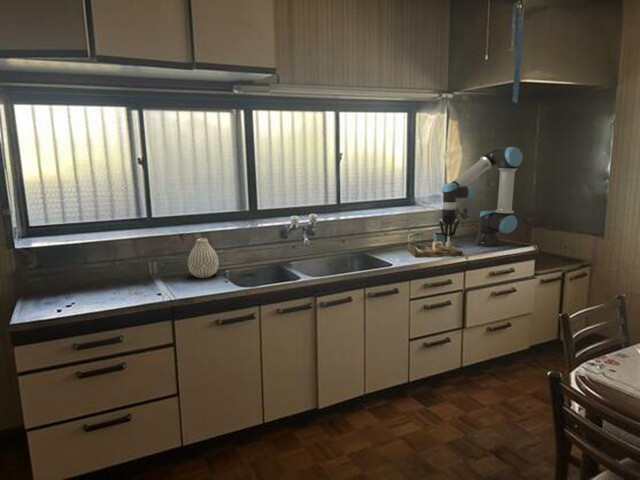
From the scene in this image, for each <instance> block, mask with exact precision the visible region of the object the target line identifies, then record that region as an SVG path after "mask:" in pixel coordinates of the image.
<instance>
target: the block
mask: <svg viewBox="0 0 640 480" xmlns="http://www.w3.org/2000/svg"><path fill="white" fill-rule="evenodd" d="M432 245H433V250H434V251H443V243H442V242H441V241H439V242H434V241H432Z"/></svg>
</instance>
